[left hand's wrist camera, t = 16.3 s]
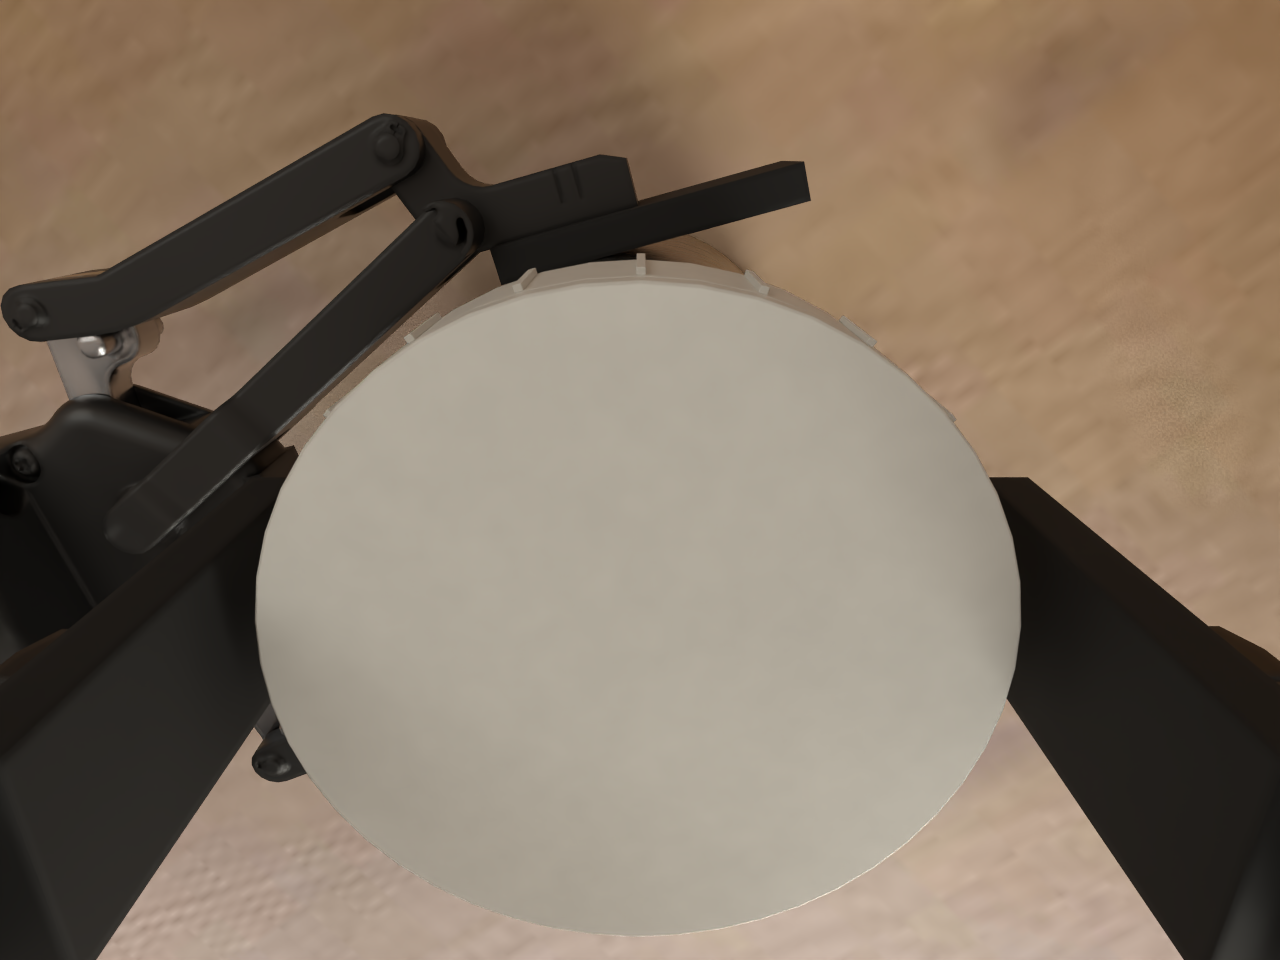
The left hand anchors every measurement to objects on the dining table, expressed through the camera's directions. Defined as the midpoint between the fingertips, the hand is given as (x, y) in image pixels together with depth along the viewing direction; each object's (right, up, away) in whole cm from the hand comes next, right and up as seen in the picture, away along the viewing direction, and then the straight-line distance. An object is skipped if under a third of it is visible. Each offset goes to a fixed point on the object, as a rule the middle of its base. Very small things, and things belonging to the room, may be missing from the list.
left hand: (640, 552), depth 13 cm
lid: (0, -1, -3) cm, 3 cm away
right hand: (+4, +4, +5) cm, 8 cm away
